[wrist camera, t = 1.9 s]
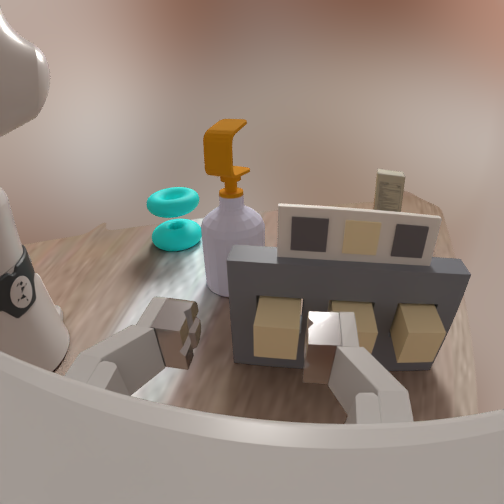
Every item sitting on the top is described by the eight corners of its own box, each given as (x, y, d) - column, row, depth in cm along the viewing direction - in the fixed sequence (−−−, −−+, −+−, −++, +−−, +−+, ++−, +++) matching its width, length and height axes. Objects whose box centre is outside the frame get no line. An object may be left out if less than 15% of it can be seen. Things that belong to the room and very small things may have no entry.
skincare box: (396, 222, 70) (404, 171, 64) (398, 229, 67) (406, 177, 61) (370, 217, 72) (376, 167, 66) (370, 225, 69) (377, 172, 63)
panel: (234, 362, 37) (223, 209, 27) (238, 344, 39) (230, 196, 30) (429, 369, 33) (485, 228, 24) (424, 352, 36) (472, 215, 26)
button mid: (327, 361, 29) (334, 331, 27) (326, 314, 35) (330, 284, 33) (368, 362, 28) (378, 332, 26) (361, 315, 34) (367, 286, 32)
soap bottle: (274, 274, 53) (275, 118, 41) (245, 306, 46) (240, 126, 34) (227, 261, 57) (219, 116, 44) (195, 288, 50) (178, 125, 38)
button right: (397, 362, 28) (408, 333, 26) (386, 316, 34) (394, 287, 32) (432, 361, 27) (446, 333, 25) (417, 317, 33) (427, 289, 31)
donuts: (147, 188, 62) (196, 182, 64) (154, 233, 67) (200, 227, 69) (143, 206, 53) (200, 199, 55) (152, 256, 58) (205, 250, 60)
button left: (253, 356, 30) (253, 325, 28) (263, 309, 36) (263, 280, 34) (296, 359, 29) (299, 329, 27) (299, 312, 35) (301, 282, 33)
